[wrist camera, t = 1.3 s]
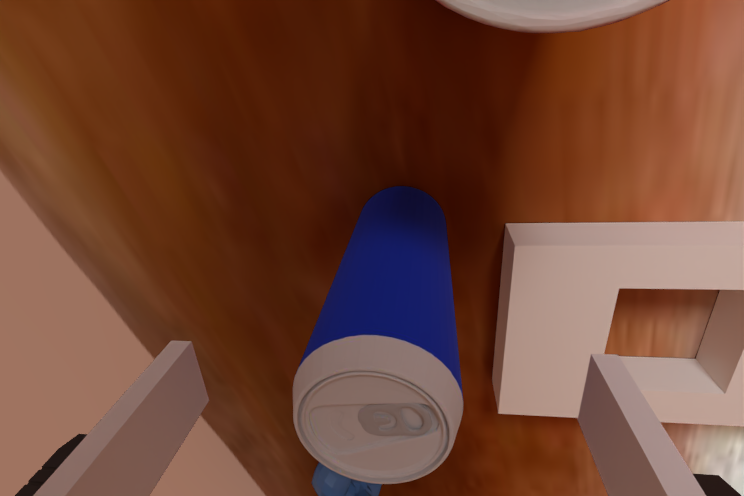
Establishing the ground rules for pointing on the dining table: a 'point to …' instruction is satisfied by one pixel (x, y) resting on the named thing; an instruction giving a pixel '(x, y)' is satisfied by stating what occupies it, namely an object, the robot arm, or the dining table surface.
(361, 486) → the grapes
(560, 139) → the dining table surface
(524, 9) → the mug
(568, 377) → the socket board
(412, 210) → the beverage can
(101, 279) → the dining table surface
